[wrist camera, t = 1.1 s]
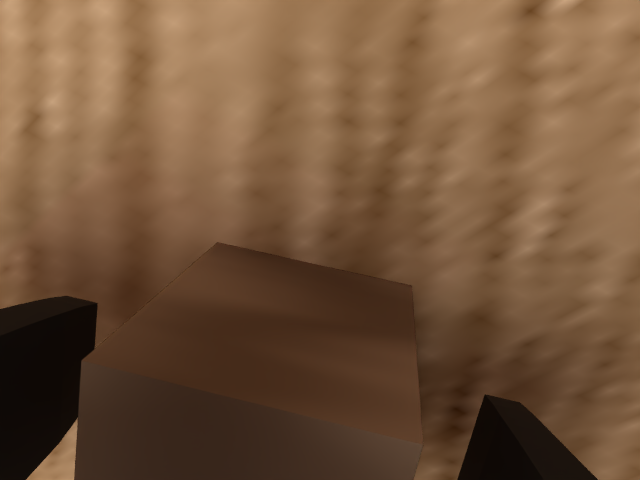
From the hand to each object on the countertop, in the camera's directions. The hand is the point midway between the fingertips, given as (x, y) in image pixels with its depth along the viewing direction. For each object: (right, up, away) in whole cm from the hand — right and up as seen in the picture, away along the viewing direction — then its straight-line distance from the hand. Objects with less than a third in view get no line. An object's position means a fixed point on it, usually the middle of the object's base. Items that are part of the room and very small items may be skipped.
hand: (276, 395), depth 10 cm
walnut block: (0, 0, +2) cm, 2 cm away
